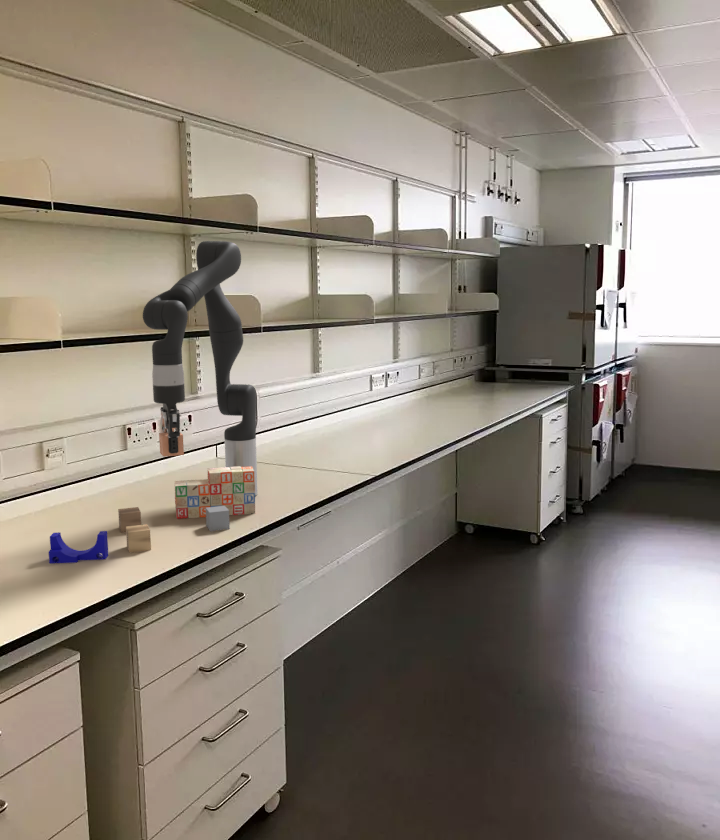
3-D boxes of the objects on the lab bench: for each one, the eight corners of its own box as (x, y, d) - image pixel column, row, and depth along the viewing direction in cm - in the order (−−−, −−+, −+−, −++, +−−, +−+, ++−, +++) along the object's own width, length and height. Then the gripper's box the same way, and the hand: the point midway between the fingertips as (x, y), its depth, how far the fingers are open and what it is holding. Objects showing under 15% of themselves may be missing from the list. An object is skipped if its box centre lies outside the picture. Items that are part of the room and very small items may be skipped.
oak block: (126, 546, 190) (125, 526, 190) (148, 544, 192) (147, 524, 191) (129, 553, 186) (128, 532, 185) (151, 550, 188) (150, 529, 187)
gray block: (206, 526, 206) (205, 507, 206) (225, 524, 208) (224, 505, 208) (210, 531, 202) (209, 512, 201) (229, 529, 204) (229, 510, 203)
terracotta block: (160, 452, 198) (159, 433, 197) (180, 451, 200) (179, 431, 199) (163, 456, 193) (162, 436, 193) (183, 454, 195) (182, 434, 195)
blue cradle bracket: (49, 564, 179) (47, 538, 178) (55, 557, 183) (53, 532, 182) (103, 562, 180) (102, 536, 179) (108, 555, 184) (107, 531, 183)
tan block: (119, 527, 206) (118, 509, 205) (139, 525, 208) (138, 506, 207) (121, 533, 201) (120, 514, 200) (141, 530, 203) (140, 511, 202)
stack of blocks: (176, 519, 213) (174, 475, 211) (175, 513, 219) (173, 469, 217) (255, 513, 218) (254, 470, 216) (253, 507, 224) (252, 465, 222)
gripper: (189, 385, 189) (192, 455, 191) (178, 379, 202) (181, 444, 205) (157, 386, 186) (160, 457, 189) (148, 380, 199) (152, 447, 202)
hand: (171, 450), depth 197 cm, fingers closed on terracotta block, 5 cm apart
